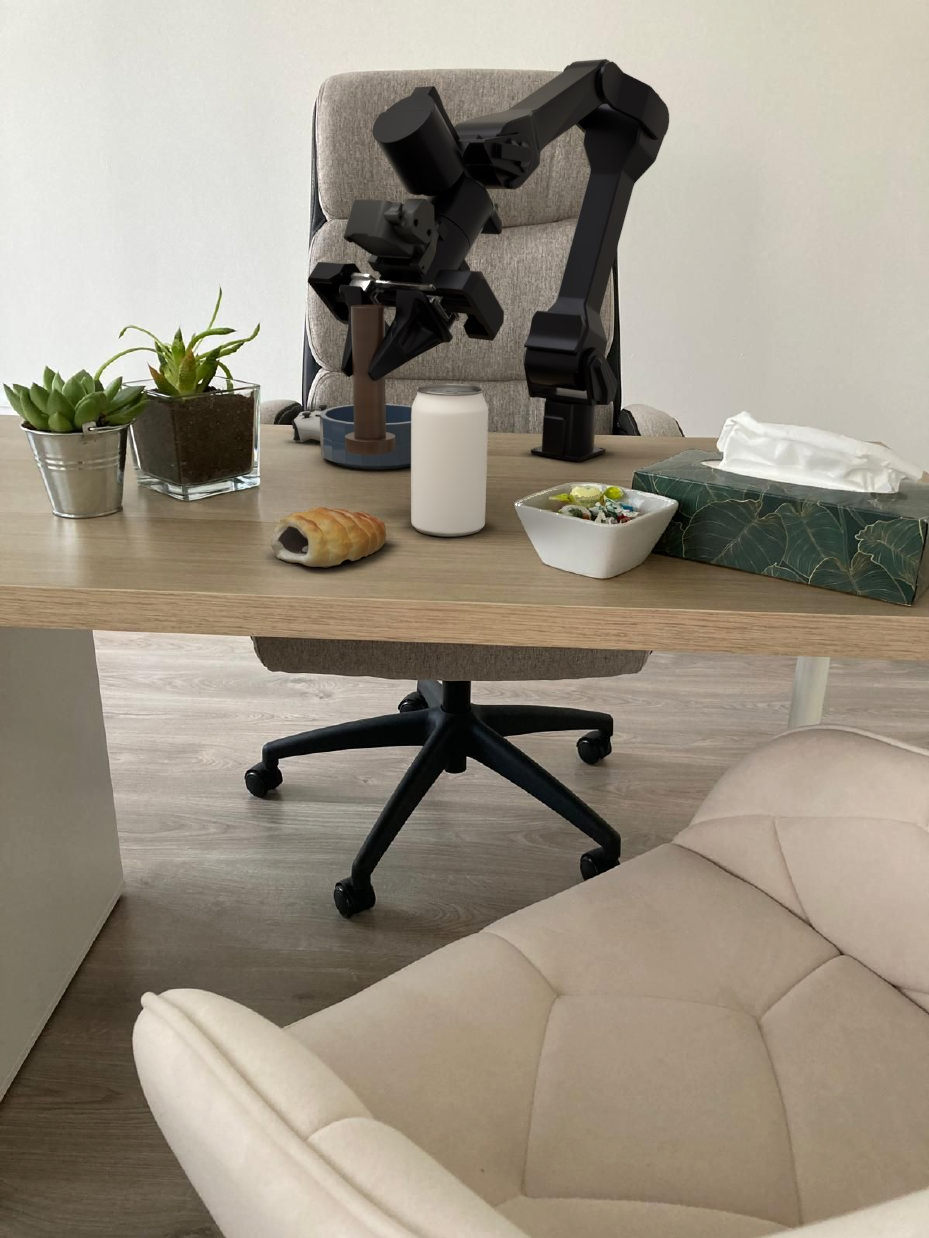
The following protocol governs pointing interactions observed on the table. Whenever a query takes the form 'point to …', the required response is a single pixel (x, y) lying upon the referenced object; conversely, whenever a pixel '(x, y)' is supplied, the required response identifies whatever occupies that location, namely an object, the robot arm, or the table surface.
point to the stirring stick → (368, 385)
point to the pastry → (327, 536)
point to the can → (449, 459)
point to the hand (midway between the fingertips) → (357, 375)
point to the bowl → (342, 423)
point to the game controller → (307, 424)
